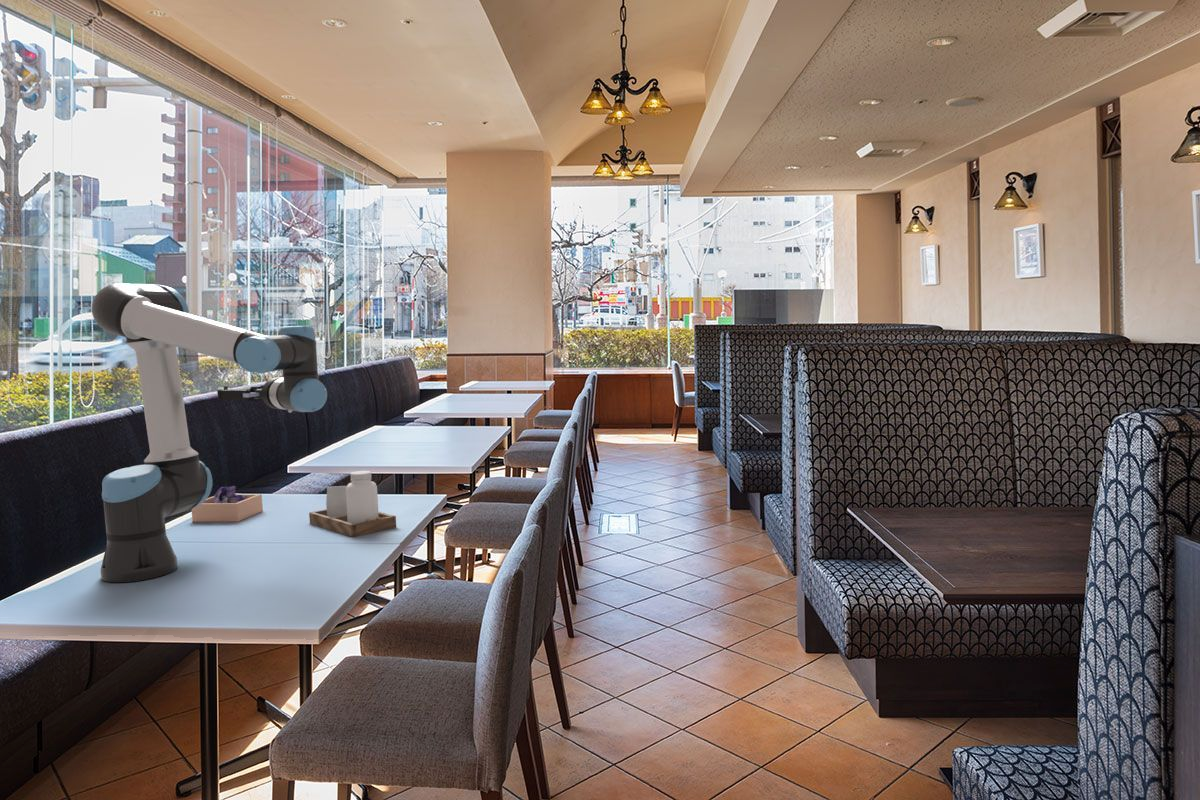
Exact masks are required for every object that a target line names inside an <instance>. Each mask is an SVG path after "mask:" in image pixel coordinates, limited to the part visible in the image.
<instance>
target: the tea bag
mask: <svg viewBox="0 0 1200 800" xmlns="http://www.w3.org/2000/svg"><path fill="white" fill-rule="evenodd" d="M346 487H347V485H339V486H336V485H335V486H327V487H326V501H325V502H326V503H325V505H326V509H327V516H328V517H332V518H334V517H339V516H344V515H347V501H346Z"/></svg>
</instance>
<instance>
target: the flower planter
mask: <svg viewBox="0 0 1200 800" xmlns="http://www.w3.org/2000/svg"><path fill="white" fill-rule="evenodd" d="M241 495H245V500H242V501H240V502H237V503H215V500H214V496H215V495H213V496H210V497H208V498H207V499H206V500H205V501H204V502H203V503H202V504H201V505H199V506H197V507H195V508H193V509H191V510H190V511H191V519H192V523H193V522H196V523H197V522H199V523H201V522H203V523H205V522H210V523H211V522H212V523H214V522H240V521H243V520H245V519H247V518H250V517H252V516H254V515H257V514H259V513H261V512H264V509H263V494H262V493H253V494H251V493H250V494H249V493H248V494H246V493H243V494H241Z"/></svg>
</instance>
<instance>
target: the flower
mask: <svg viewBox="0 0 1200 800" xmlns="http://www.w3.org/2000/svg"><path fill="white" fill-rule="evenodd" d="M213 496H214V500H215V503H237V502H240V501H242V500H245V495H241V494H240V493H239V494H237V493H236V485H231V486H227V485H226V486H221V487H220V488H219V489H218V490H217V491H216V492H215V494H214V495H213Z"/></svg>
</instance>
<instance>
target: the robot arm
mask: <svg viewBox="0 0 1200 800" xmlns="http://www.w3.org/2000/svg"><path fill="white" fill-rule="evenodd" d="M189 310H190V309H189V306H188V303H187V300H185V298H184V297H183V296H182V294H181V293H180V292H178V291H177V290H176V289H175V288H173V287H169V286H167V285H161V284H157V283H149V284H148V283H127V282H126V283H124V282H119V283H113V284H109V285H107V286H105V287H103V288H101V289H100V290H99V291H98V292H97V293H96V294H95V296H94V298H93V300H92V303H91V314H92V317H93V320H94V321H95V323H96V324H97V325H98V326H99V327H100V329H102V330H103V331H105V332H106V333H108V334H111V335H115V336H120V337H123V338H125V340H126V345H127V346H128V347H130V348H131V349H133V350H134V352H135V357H136V358H135V359H136V364H137V371H138V378H139V379H138V380H139V384H140V391H141V398H142V404H143V406H142V407H143V413H144V419H145V425H146V431H147V432H146V434H147V441H148V446H149V454H148V455H147V456H146V458H144V459H143V463H144V464H138V465H137V464H136V465H133V466H129V467H124V468H119V469H117V470H114V471H112V472H109V473H108V474H106V475H105V476H104V478H103V479H102V482H101V487H102V489H101V491H102V492H101V499H102V505H103V515H104V525H105V533H106V547H105V551H104V555H103V558H102V564H101V567H100V578H101V581H104V582H107V583H108V582H109V583H131V582H139V581H145V580H149V579H155V578H158V577H162V576H165V575H168V574H170V573H172V572H174V571H176V570H177V569H178V567H179V566H178V557H177V555H176V554H175V552H174V549H173V546H172V544H171V542H170V540H169V538H168V536H167V530H166V518H168V517H171V516H175V515H177V514H180V513H185V512H189V511H192V510H191V509H193V508H195V507H197V506H199V505H201V504H202V503H203V502H204V501H205V500H206V499H207V498H209V496H210V494H211V492H212V489H213V477H212V476H213V475H212V473H211V469H209V467H207V466H206V464H205V463H204V462H203V461H201V460H200V457H199V452H198V451H196V450H195V449H193V448H192V446H191V442H190V436H189V429H188V422H187V415H186V407H185V402H184V394H183V387H182V379H181V373H180V366H179V365H180V364H179V358H178V350H177V348H180V349H183V350H186V351H190V352H191V351H192V352H194V353H198V354H201V355H205V356H209V357H211V358H212V357H213V358H215V359H219V360H223V361H226V362H229V363H233V364H237V365H239V366H240V367H241V368H242V369H243V370H244V371H246V372H250V373H257V374H265V373H269V372H276V371H282V377H279V376H278V377H272V378H270V379H268V380H267V381H265V383H264V384H262V385H261V384H260V385H255V386H250V388H231V387H228V386H227V385H226V386H225V385H224V386H223V387H217V390H216V393H217V401H219V402H222V401H224V402H225V401H228V402H229V401H246V402H250V401H252V402H254V401H255V402H257V401H258V402H264V404H265V405H266V406H268V407H269V408H271V409H274V410H285V411H287V412H288V413H289V414H291V413H293V411H294V412H299V413H314V412H317V411H319V410H321V409H322V408H323V407H324V405H325V404H326V402H327V399H328V391H327V387H326V386H325V385H324V384H323V382H321V381H320V379H319V373H318V370H319V369H318V355H317V353H318V352H317V351H318V350H317V339H316V334H315V328H314V327H313V326H311V325H291V326H281V327H280V328H279V335H266V334H262V333H258V332H255V331H251V330H248V329H244V328H241V327H238V326H234V325H230V324H226V323H223V322H220V321H216V320H213V319H209V318H204V317H201V316H198V315H195V314H192V313H191V314H190V311H189Z"/></svg>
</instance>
